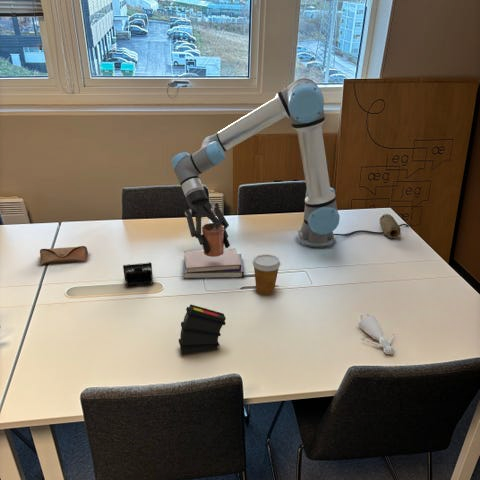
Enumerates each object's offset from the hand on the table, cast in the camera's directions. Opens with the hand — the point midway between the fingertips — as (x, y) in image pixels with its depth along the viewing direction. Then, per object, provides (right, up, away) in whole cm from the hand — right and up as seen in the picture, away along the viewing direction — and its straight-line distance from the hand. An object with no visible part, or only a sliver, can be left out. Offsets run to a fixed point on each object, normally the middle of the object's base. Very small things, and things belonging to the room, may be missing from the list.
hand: (218, 249), depth 183 cm
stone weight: (+74, +12, +39) cm, 84 cm away
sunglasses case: (-61, -2, +13) cm, 62 cm away
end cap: (-29, -12, -1) cm, 31 cm away
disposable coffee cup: (+17, -16, -5) cm, 24 cm away
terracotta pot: (-2, -1, +4) cm, 4 cm away
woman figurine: (+50, -32, -29) cm, 66 cm away
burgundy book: (-3, -4, +6) cm, 8 cm away
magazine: (-3, -35, -35) cm, 49 cm away
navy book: (-2, -6, +8) cm, 10 cm away
